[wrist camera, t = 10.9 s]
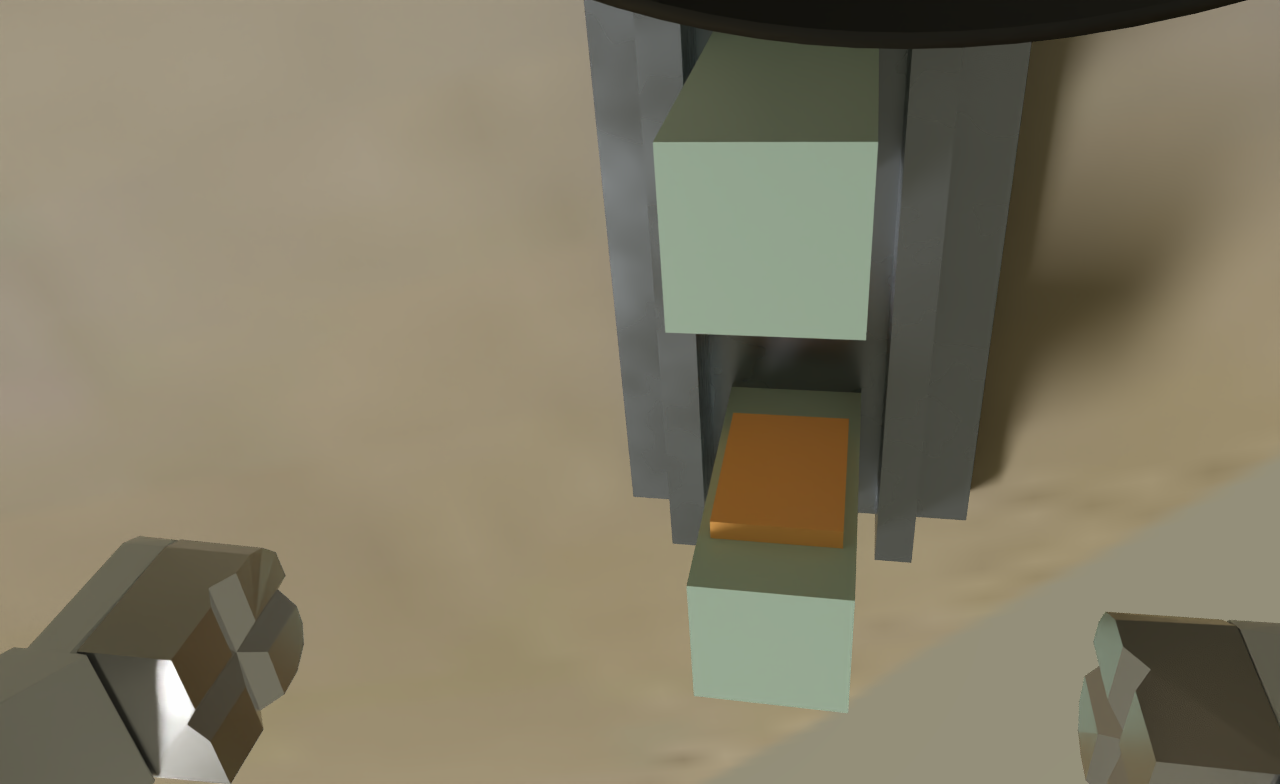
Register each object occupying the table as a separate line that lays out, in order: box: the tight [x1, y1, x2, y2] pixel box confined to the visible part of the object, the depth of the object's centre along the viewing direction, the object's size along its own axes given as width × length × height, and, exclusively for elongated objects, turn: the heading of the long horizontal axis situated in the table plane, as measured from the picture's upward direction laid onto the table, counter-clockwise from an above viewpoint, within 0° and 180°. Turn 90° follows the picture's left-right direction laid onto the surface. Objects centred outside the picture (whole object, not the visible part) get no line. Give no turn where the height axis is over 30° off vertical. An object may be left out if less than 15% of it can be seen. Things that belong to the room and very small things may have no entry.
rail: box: [584, 0, 1032, 563], centre depth 26 cm, size 10×15×3 cm, turn 4°
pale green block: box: [653, 31, 879, 340], centre depth 20 cm, size 4×4×8 cm
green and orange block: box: [687, 387, 861, 713], centre depth 25 cm, size 4×4×8 cm
